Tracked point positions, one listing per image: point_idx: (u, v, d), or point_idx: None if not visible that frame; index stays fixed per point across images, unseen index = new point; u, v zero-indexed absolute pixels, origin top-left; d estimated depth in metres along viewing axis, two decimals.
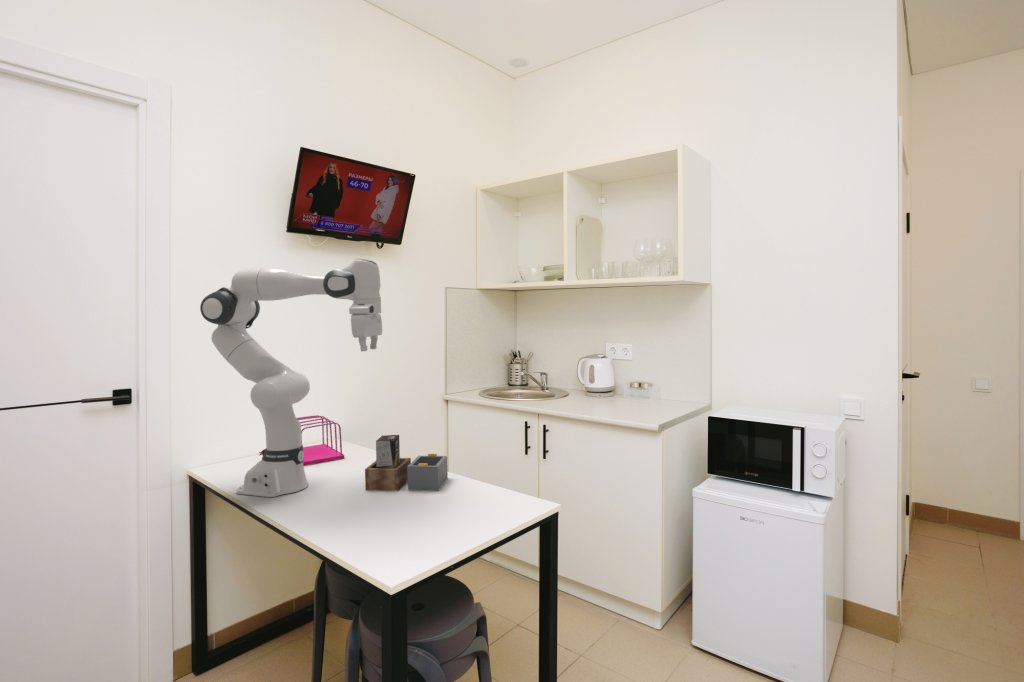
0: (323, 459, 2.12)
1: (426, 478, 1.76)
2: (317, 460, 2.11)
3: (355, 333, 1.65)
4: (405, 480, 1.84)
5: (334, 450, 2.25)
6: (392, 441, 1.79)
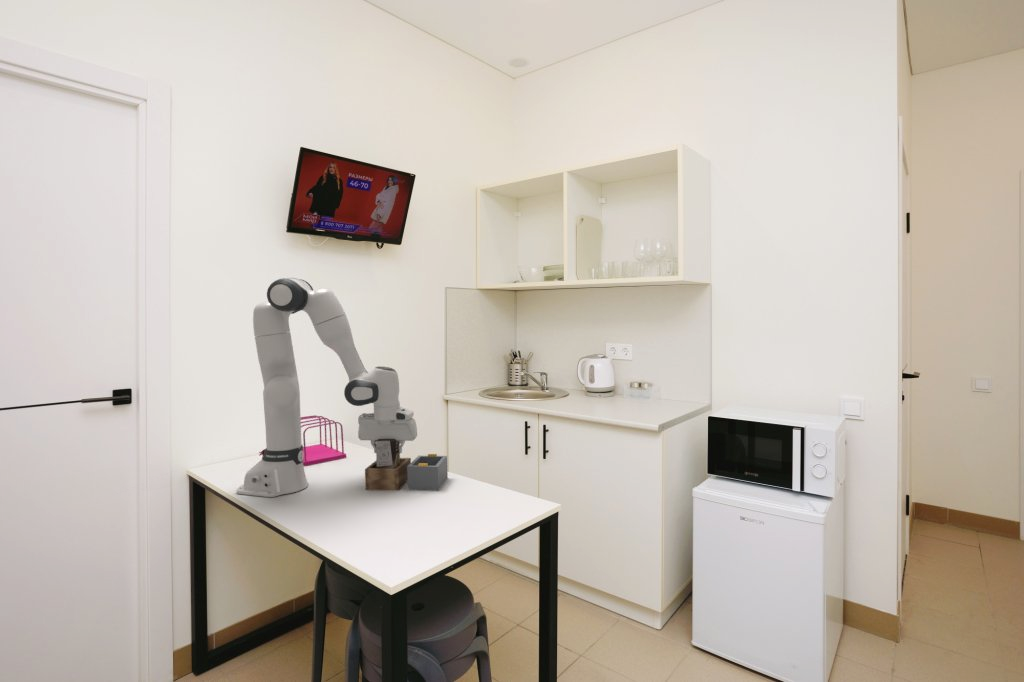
0: (326, 458, 2.13)
1: (426, 478, 1.76)
2: (320, 459, 2.11)
3: (415, 436, 1.82)
4: (405, 480, 1.84)
5: (334, 450, 2.26)
6: (392, 441, 1.79)
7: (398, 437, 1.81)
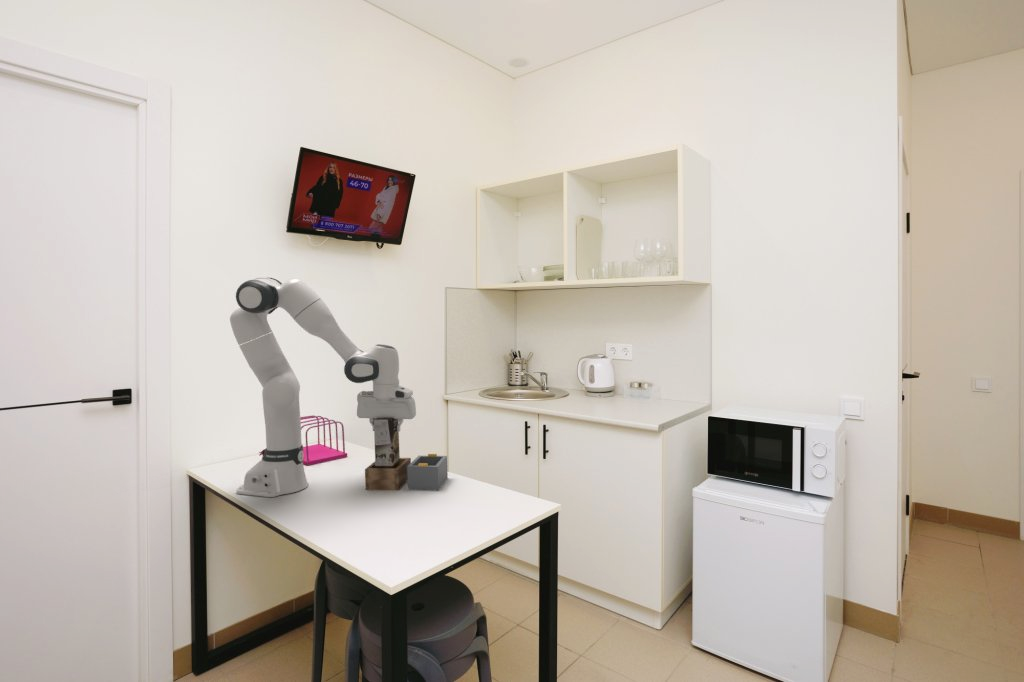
0: (327, 458, 2.14)
1: (426, 478, 1.76)
2: (322, 459, 2.12)
3: (414, 415, 1.81)
4: (405, 480, 1.84)
5: (334, 449, 2.26)
6: (390, 420, 1.79)
7: (397, 415, 1.81)
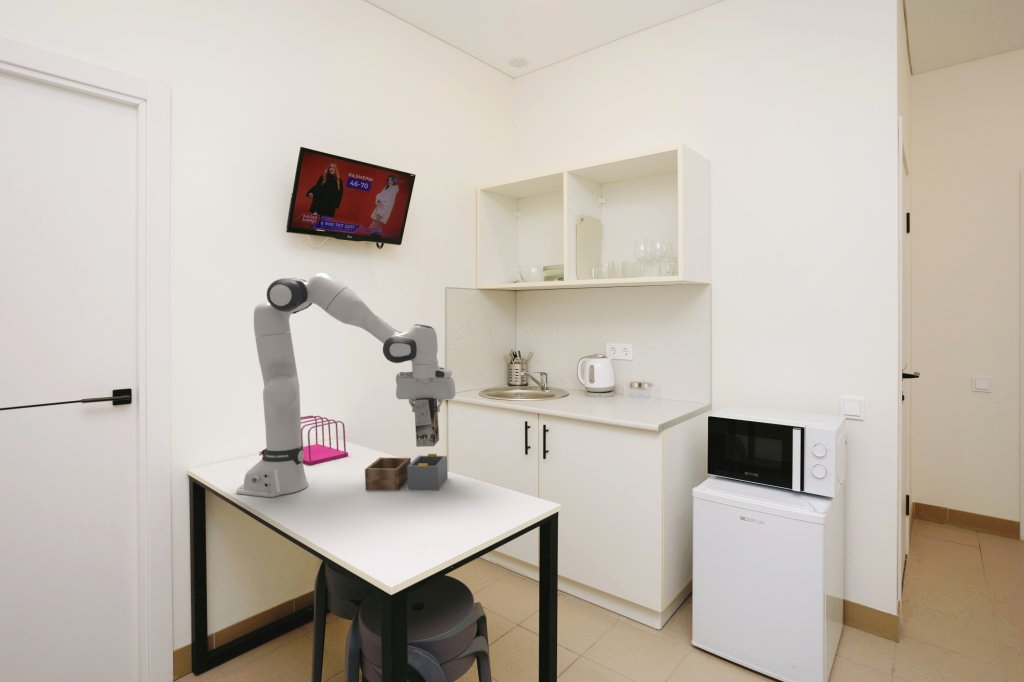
0: (329, 457, 2.15)
1: (426, 478, 1.76)
2: (324, 459, 2.13)
3: (454, 395, 1.80)
4: (405, 480, 1.84)
5: (334, 449, 2.27)
6: (430, 400, 1.77)
7: (437, 395, 1.79)
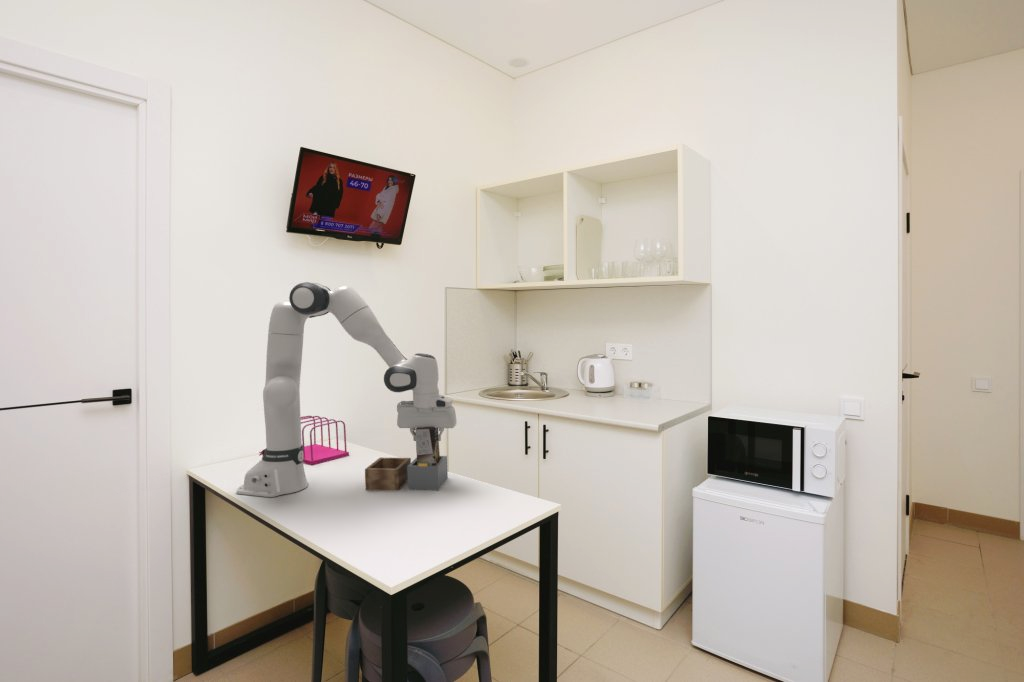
0: (331, 457, 2.15)
1: (426, 478, 1.76)
2: (326, 458, 2.13)
3: (455, 424, 1.80)
4: (405, 480, 1.84)
5: (333, 448, 2.27)
6: (431, 429, 1.78)
7: (438, 425, 1.80)
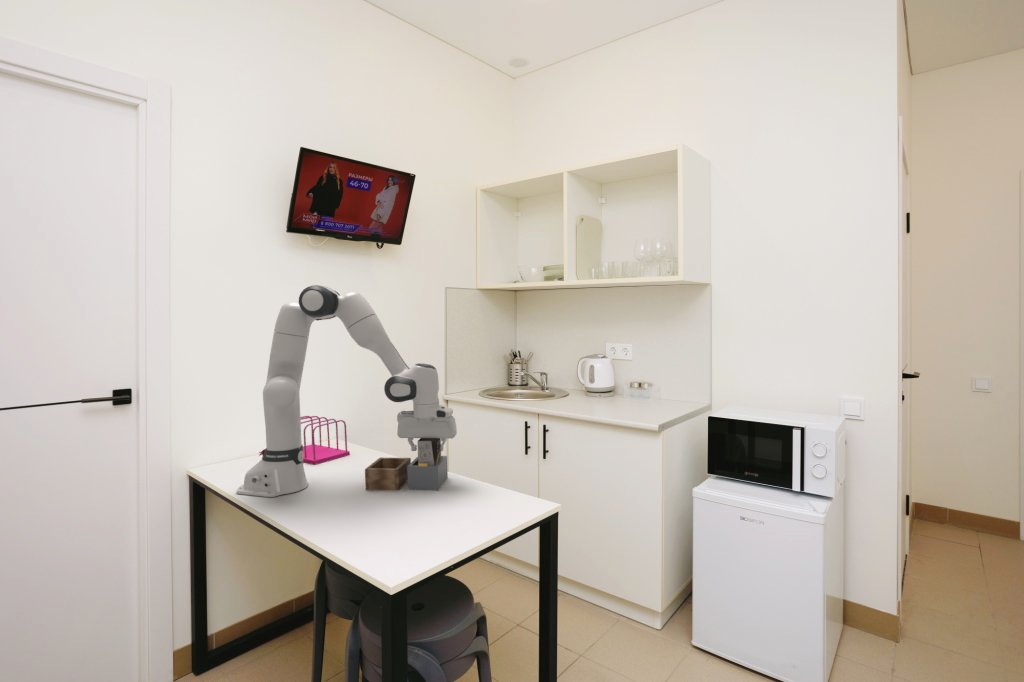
0: (332, 456, 2.16)
1: (426, 478, 1.76)
2: (327, 458, 2.14)
3: (455, 434, 1.80)
4: (405, 480, 1.84)
5: (333, 448, 2.28)
6: (434, 441, 1.78)
7: (438, 435, 1.80)
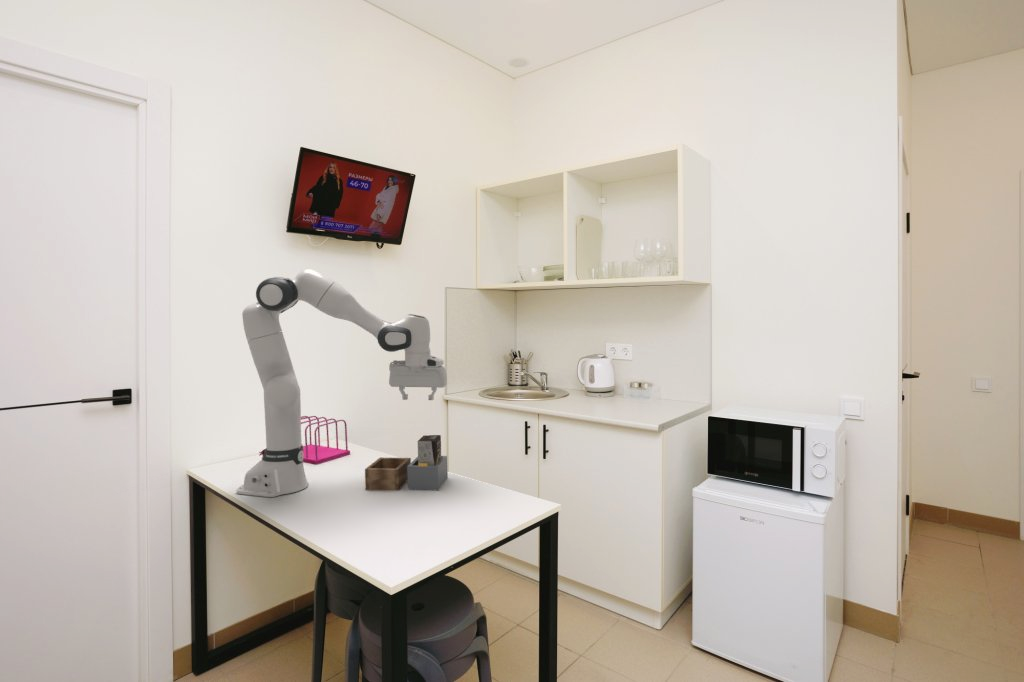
0: (334, 456, 2.17)
1: (426, 478, 1.76)
2: (329, 457, 2.15)
3: (445, 384, 1.85)
4: (405, 480, 1.84)
5: (332, 448, 2.29)
6: (434, 441, 1.78)
7: (428, 384, 1.84)
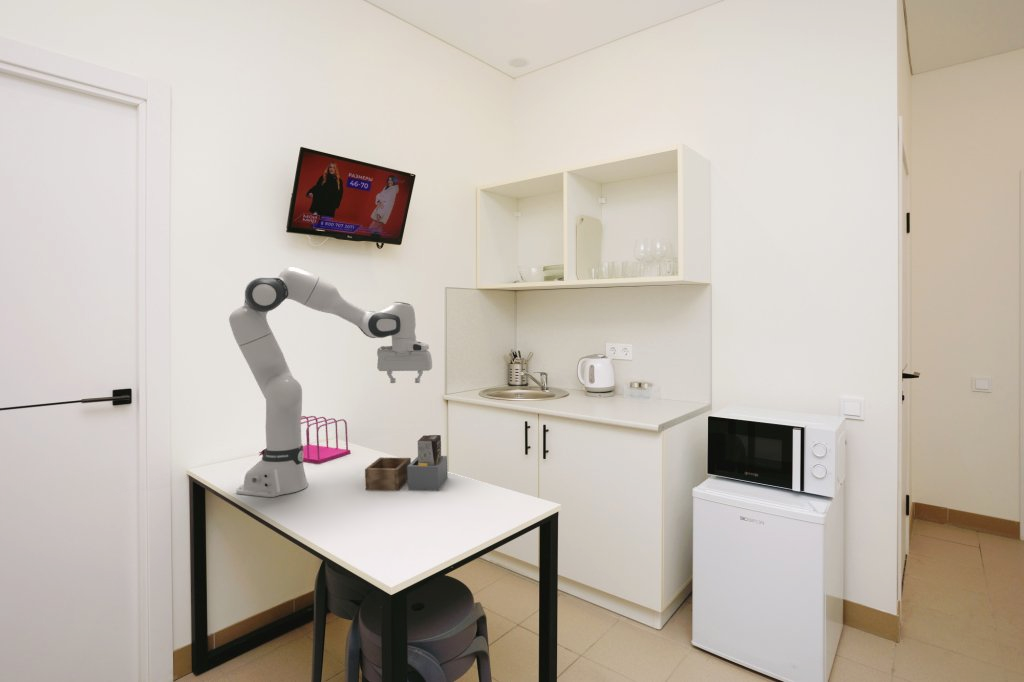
0: (335, 455, 2.18)
1: (426, 478, 1.76)
2: (331, 457, 2.15)
3: (430, 367, 1.95)
4: (405, 480, 1.84)
5: (332, 448, 2.29)
6: (434, 441, 1.78)
7: (415, 367, 1.95)
